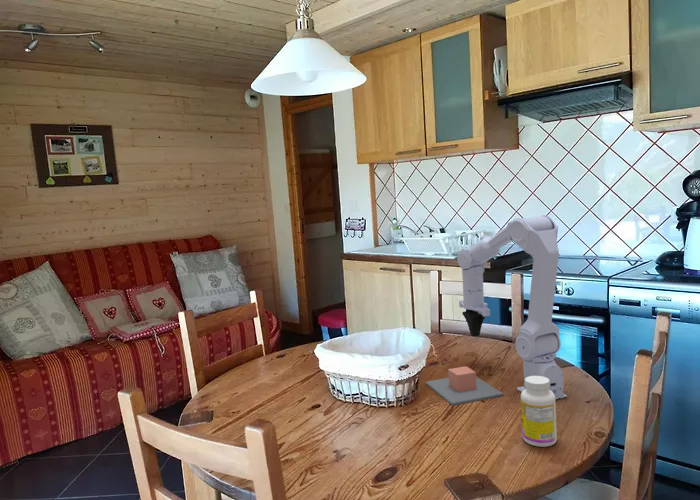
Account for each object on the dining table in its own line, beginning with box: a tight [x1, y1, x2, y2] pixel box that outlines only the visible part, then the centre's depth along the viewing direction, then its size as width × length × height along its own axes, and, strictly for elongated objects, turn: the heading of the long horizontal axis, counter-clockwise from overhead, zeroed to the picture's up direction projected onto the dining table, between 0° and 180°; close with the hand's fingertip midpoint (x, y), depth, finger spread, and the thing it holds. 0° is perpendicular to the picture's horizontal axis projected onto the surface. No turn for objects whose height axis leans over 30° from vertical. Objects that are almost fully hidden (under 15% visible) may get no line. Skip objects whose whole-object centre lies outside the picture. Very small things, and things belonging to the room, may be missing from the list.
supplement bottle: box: [520, 376, 558, 448], centre depth 105 cm, size 7×7×13 cm
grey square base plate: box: [425, 376, 504, 406], centre depth 135 cm, size 16×14×4 cm
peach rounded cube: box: [447, 365, 477, 392], centre depth 134 cm, size 5×5×4 cm
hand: (475, 335), depth 150 cm, fingers closed
